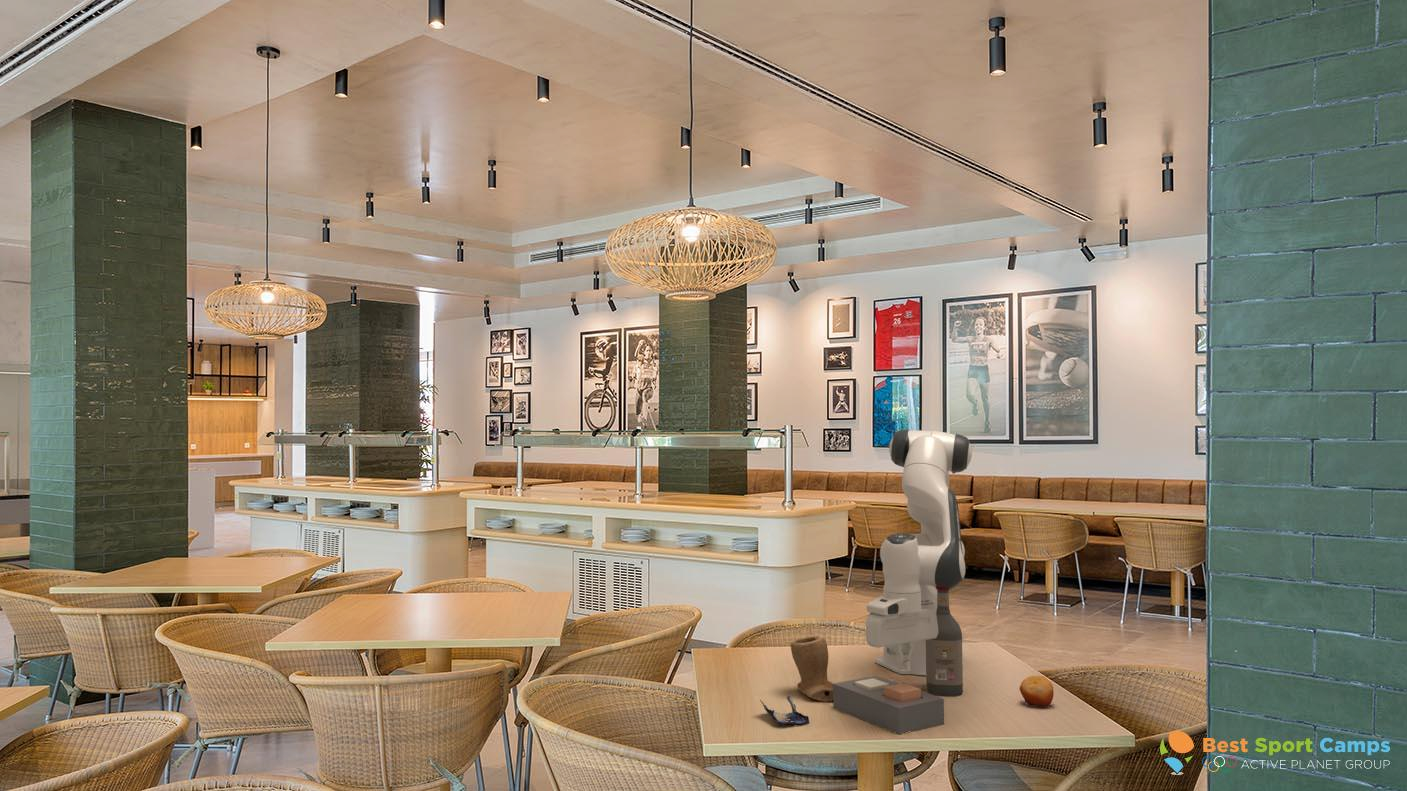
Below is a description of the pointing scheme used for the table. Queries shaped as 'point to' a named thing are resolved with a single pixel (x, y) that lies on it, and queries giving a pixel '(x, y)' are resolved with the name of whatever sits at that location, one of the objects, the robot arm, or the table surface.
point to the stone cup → (812, 667)
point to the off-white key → (871, 684)
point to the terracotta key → (902, 692)
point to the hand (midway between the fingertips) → (903, 661)
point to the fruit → (1037, 691)
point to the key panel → (888, 707)
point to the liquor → (944, 652)
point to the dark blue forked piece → (789, 715)
